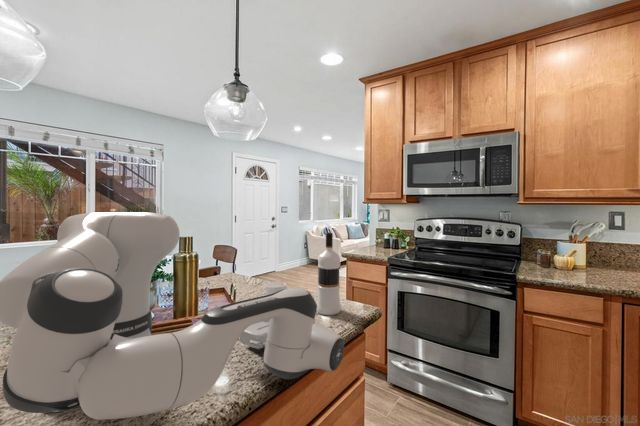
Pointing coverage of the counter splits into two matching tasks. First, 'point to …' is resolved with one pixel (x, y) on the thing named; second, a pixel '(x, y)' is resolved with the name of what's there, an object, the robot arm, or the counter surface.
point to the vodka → (328, 280)
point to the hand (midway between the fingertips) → (259, 319)
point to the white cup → (275, 287)
